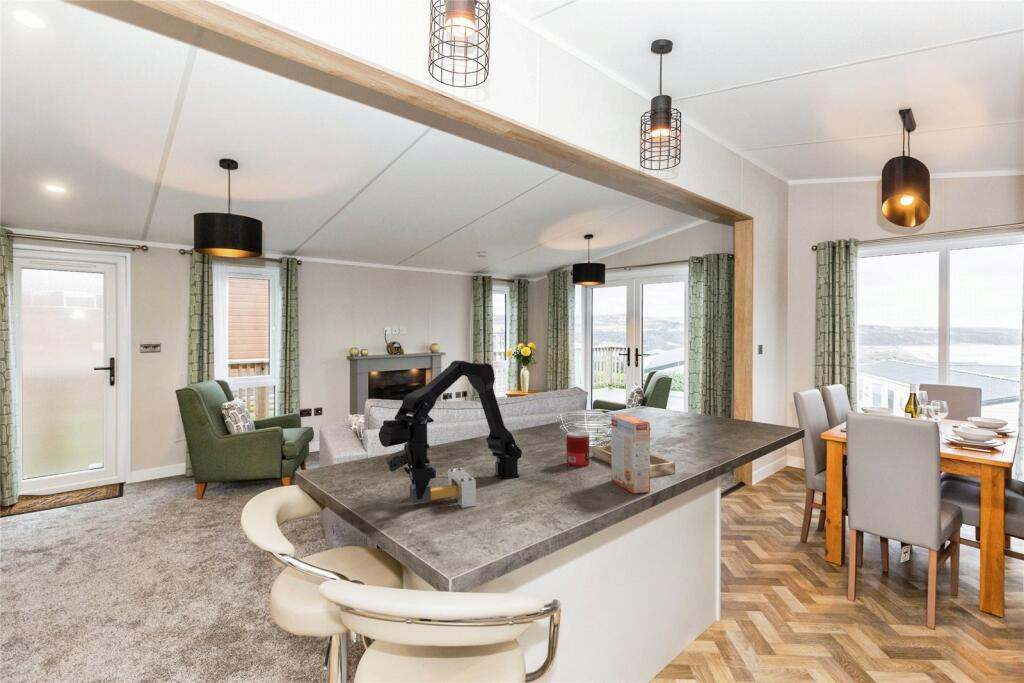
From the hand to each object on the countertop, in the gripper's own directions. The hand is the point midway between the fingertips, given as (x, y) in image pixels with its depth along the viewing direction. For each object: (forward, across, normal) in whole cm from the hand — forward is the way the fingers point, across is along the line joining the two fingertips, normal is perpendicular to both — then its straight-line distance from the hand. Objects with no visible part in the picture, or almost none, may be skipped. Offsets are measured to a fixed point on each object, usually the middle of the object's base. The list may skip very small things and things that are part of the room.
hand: (418, 496), depth 134 cm
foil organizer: (+2, -9, +78) cm, 78 cm away
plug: (+1, 0, +6) cm, 6 cm away
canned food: (+3, -17, +60) cm, 63 cm away
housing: (+2, 0, +12) cm, 13 cm away
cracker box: (+3, +11, +62) cm, 64 cm away
